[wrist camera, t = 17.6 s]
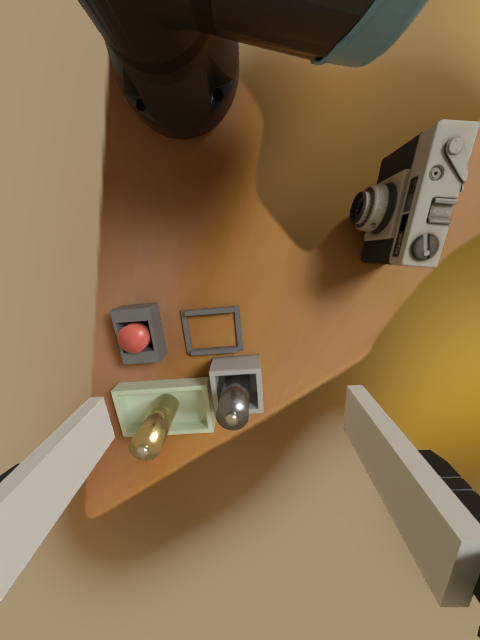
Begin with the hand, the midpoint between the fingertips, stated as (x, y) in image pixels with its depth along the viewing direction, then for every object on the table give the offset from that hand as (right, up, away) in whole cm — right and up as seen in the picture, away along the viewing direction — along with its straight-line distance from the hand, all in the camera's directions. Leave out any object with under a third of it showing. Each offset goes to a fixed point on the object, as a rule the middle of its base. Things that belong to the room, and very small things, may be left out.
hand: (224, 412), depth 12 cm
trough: (-13, -10, +30) cm, 35 cm away
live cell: (-13, -10, +30) cm, 34 cm away
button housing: (-15, +3, +26) cm, 31 cm away
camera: (+20, +21, +21) cm, 35 cm away
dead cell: (+1, -5, +28) cm, 28 cm away
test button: (-15, +3, +24) cm, 28 cm away
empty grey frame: (-4, +3, +26) cm, 27 cm away
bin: (+1, -5, +28) cm, 29 cm away
